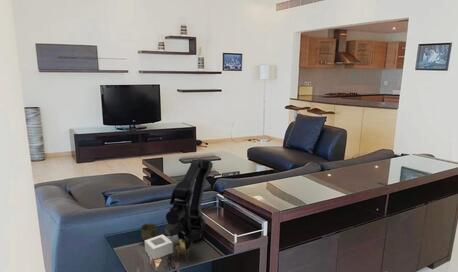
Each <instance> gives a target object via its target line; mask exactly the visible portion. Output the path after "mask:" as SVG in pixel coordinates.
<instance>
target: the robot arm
mask: <svg viewBox="0 0 458 272" xmlns="http://www.w3.org/2000/svg"><path fill="white" fill-rule="evenodd" d="M213 164H214V163H213V162H212V160H211V159H205V158H197V159H191V161H190V165H189V167H188V169H187V171H186V174H185V175H184V177H183V179H182V180H180V182H177V184H176V185H175V186H174V188H173V190H172V193H171V198H170V201H169V205H171V206H172V207H169V211H168V212H167V213H166V214H165V219H166V222H167V224H166V225H165V226H164V227H163V228H164V229H163V230H164V231H165V233H166V235H168V236H169V237H170V238H171V237H174V236H176V237H177V238H178V241H179V243H180V238H182V239H183V240H184V242H185V248H186V250H188V249H189V250H190V246H191V244H192V243H196V242H200V241H201V240H205V236H203V229H205V228H206V220H205V218H204V217H203V216H204V215H203V214H204V213H203V210H202V201H203V196H204V191H205V186H206V185H205V184H206V180H207V177H209V175H210V174H211V171H212V169H213ZM193 185H194V187H193Z"/></svg>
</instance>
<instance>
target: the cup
mask: <svg viewBox="0 0 458 272" xmlns="http://www.w3.org/2000/svg"><path fill="white" fill-rule="evenodd" d="M157 228H158V226H157V224H155V223H152V222H150V223H149V222H148V223H144V224H141V227H139V229H140V233H141V238H142V239H143V241H145V240H148V239H151V238H154V237H157V231H158V230H157Z"/></svg>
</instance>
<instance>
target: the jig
mask: <svg viewBox="0 0 458 272" xmlns="http://www.w3.org/2000/svg"><path fill="white" fill-rule="evenodd" d="M143 241H144V251H145V252H146V254H148V256H149V257H150V258H151V259H152V260H154V259H155V260H157V258H158V259H160V258H163V257H165V256H167V255H170V254H173V253H174V246H173V241H172V240H171V239H170V238H168V237H167V236H166V235H164V234H160V235H156V237H154V238H151V239H148V240H143Z"/></svg>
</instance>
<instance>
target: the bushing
mask: <svg viewBox="0 0 458 272" xmlns="http://www.w3.org/2000/svg"><path fill="white" fill-rule="evenodd" d="M179 253H180V254H182V255H187V254H189V253H190V248H189V249H188V250H186V248H185V242H184V240H183V239H182V238H180V242H179Z"/></svg>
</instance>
